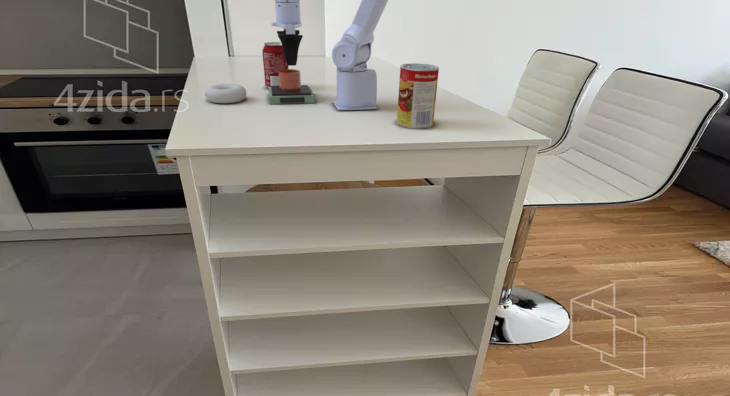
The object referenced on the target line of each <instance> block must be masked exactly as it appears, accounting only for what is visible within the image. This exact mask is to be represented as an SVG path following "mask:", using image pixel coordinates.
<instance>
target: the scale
mask: <svg viewBox="0 0 730 396" xmlns="http://www.w3.org/2000/svg"><path fill="white" fill-rule="evenodd" d="M268 97H269V98H268V99H269V104H270V105H288V104H289V105H293V104H314V103H316V99H315V98H316V97H315V93H314V92H313V90H312V88H311V86H309V85H308V84H301V88H299V90H296V91H284V90H281V88H280V87H279V85H276V86H271V87H269V88H268Z"/></svg>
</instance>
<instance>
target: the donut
mask: <svg viewBox="0 0 730 396" xmlns="http://www.w3.org/2000/svg"><path fill="white" fill-rule="evenodd" d="M204 97H205V98H206V100H208V101H209V102H212V103H216V104H233V103H239V102H241V101H243V100H245V99H246V97H247V89H246V88H245V87H244V86H243V85H240V84H237V83H217V84H213V85H210V86H207V87H206V89H205V90H204Z"/></svg>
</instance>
